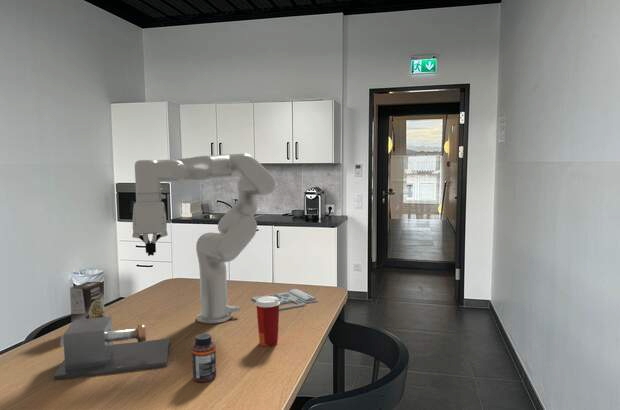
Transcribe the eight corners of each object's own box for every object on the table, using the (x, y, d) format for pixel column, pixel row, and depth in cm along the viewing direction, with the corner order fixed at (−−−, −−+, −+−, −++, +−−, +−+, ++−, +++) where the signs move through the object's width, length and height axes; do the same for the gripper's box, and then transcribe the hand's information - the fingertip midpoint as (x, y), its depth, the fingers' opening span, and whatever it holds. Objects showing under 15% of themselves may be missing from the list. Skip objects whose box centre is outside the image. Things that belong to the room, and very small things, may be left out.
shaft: (146, 338, 131) (146, 321, 130) (145, 344, 126) (144, 327, 125) (64, 346, 125) (63, 329, 124) (59, 353, 120) (58, 336, 120)
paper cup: (284, 339, 139) (283, 296, 138) (275, 349, 132) (274, 303, 131) (262, 337, 142) (261, 294, 141) (251, 346, 135) (250, 301, 134)
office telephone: (300, 287, 196) (323, 297, 178) (300, 292, 196) (323, 304, 178) (251, 294, 184) (270, 306, 167) (251, 300, 184) (270, 313, 167)
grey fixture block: (169, 342, 139) (168, 308, 138) (166, 366, 121) (165, 327, 121) (71, 353, 131) (69, 317, 131) (53, 380, 114) (51, 339, 113)
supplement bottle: (195, 373, 117) (193, 332, 116) (217, 372, 118) (216, 331, 117) (191, 383, 111) (189, 340, 110) (214, 382, 112) (213, 339, 111)
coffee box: (88, 336, 145) (85, 288, 144) (71, 335, 146) (68, 287, 145) (106, 326, 154) (104, 281, 152) (90, 325, 155) (87, 280, 154)
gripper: (173, 197, 146) (175, 251, 148) (125, 198, 142) (127, 254, 144) (172, 198, 139) (174, 255, 140) (121, 200, 135) (124, 258, 136)
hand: (151, 254), depth 142 cm, fingers closed
